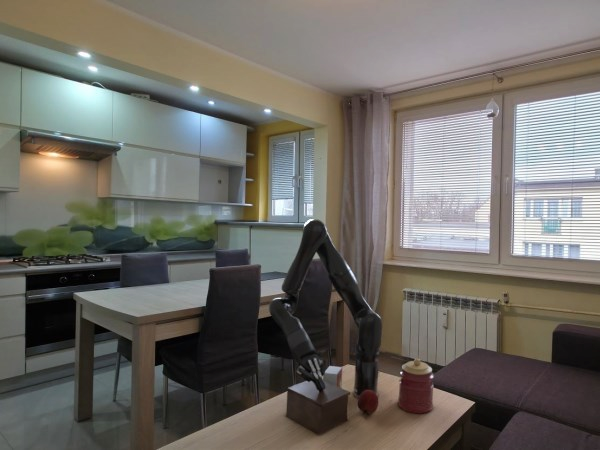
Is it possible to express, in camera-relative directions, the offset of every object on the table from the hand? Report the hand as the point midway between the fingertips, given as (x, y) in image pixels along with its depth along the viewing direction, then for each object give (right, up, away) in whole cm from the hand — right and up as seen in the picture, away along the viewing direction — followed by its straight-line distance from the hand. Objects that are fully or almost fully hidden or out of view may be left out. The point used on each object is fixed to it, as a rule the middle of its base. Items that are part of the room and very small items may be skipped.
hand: (322, 389), depth 129 cm
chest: (-2, -10, +2) cm, 11 cm away
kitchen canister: (+33, -12, +14) cm, 38 cm away
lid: (-2, -1, +1) cm, 2 cm away
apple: (+15, -11, +7) cm, 20 cm away
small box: (+1, -11, +18) cm, 21 cm away
